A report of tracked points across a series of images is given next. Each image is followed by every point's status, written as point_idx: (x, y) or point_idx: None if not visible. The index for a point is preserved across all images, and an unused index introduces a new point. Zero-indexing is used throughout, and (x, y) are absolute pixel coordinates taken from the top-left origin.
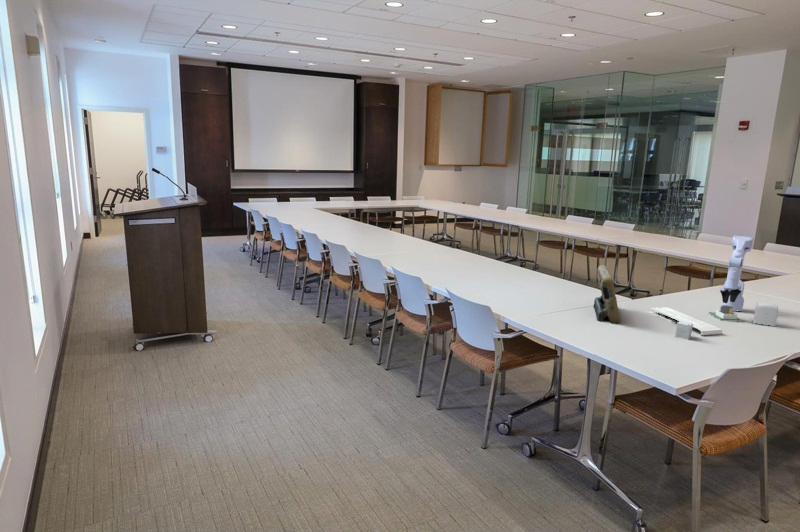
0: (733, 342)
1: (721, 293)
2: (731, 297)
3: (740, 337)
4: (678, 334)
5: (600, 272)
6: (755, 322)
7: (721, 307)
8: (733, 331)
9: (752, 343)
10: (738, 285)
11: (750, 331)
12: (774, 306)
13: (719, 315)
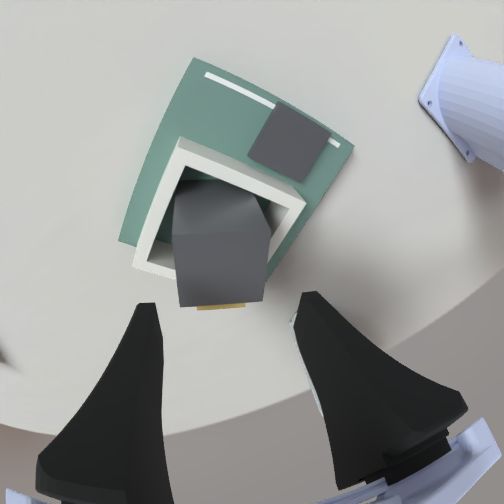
0: (9, 391)
1: (71, 424)
2: (327, 345)
3: (50, 387)
4: None
5: None
6: (290, 329)
7: (172, 227)
8: (60, 358)
9: (58, 409)
10: (491, 460)
11: None
12: None
13: (153, 199)
